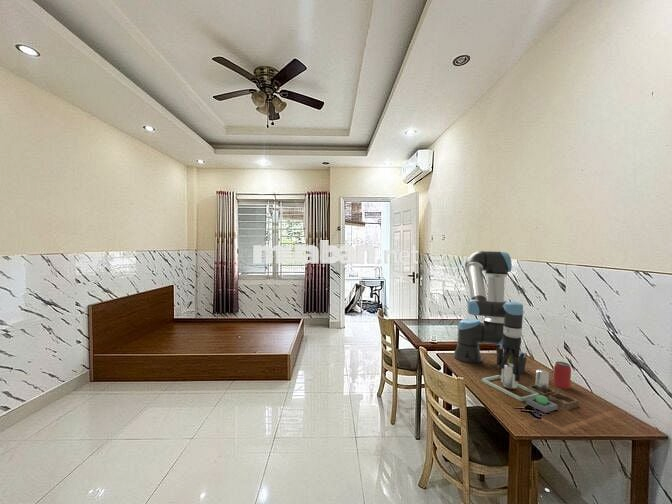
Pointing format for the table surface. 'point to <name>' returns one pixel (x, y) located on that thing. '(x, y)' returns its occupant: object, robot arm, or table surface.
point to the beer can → (562, 375)
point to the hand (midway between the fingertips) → (509, 384)
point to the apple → (512, 360)
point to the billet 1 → (508, 375)
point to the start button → (541, 399)
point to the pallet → (558, 398)
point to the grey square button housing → (545, 409)
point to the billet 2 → (542, 380)
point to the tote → (486, 380)
